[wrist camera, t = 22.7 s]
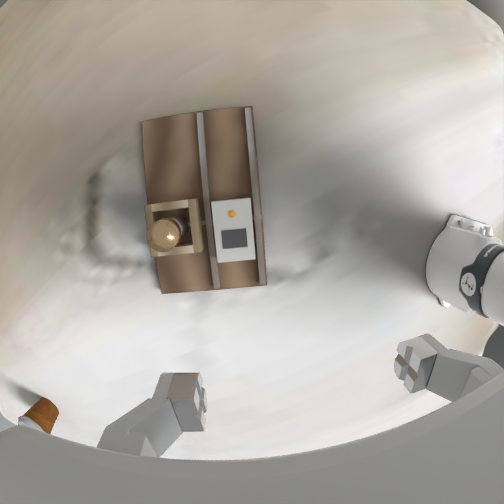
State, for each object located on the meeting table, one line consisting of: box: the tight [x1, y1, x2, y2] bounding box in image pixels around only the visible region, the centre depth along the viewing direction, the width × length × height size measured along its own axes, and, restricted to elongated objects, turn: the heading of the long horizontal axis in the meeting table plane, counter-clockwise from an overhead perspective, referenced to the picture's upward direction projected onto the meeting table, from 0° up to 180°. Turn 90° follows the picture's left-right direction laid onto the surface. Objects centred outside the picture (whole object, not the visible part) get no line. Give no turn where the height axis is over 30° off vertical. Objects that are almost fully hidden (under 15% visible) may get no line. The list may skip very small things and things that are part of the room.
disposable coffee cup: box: [18, 398, 59, 434], centre depth 41 cm, size 10×10×12 cm
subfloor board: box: [142, 106, 267, 294], centre depth 37 cm, size 16×26×2 cm, turn 5°
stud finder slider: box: [211, 198, 256, 263], centre depth 36 cm, size 5×8×3 cm, turn 5°
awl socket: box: [144, 198, 204, 257], centre depth 36 cm, size 7×7×3 cm
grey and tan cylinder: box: [147, 215, 188, 252], centre depth 33 cm, size 4×4×8 cm
